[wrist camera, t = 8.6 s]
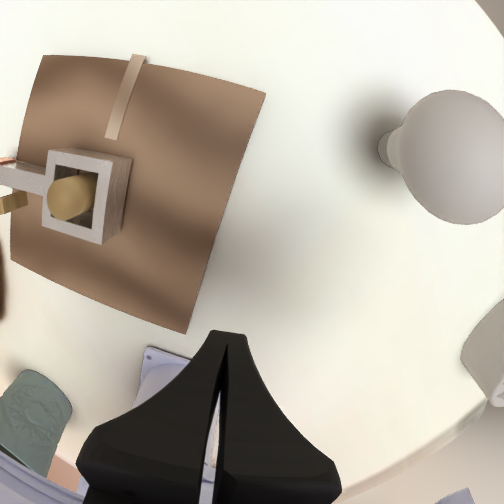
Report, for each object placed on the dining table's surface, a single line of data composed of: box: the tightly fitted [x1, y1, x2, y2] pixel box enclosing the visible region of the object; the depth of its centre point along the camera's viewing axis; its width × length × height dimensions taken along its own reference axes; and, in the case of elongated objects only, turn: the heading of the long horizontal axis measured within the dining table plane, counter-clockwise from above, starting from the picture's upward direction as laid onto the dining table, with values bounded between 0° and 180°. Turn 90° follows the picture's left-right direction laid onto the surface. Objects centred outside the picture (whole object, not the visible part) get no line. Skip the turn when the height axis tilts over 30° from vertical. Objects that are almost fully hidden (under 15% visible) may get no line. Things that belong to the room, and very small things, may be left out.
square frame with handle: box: [0, 148, 132, 245], centre depth 16 cm, size 13×5×3 cm, turn 74°
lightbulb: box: [378, 90, 504, 225], centre depth 12 cm, size 6×6×11 cm
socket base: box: [0, 54, 266, 334], centre depth 16 cm, size 18×18×5 cm
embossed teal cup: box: [0, 370, 72, 478], centre depth 22 cm, size 10×10×12 cm
